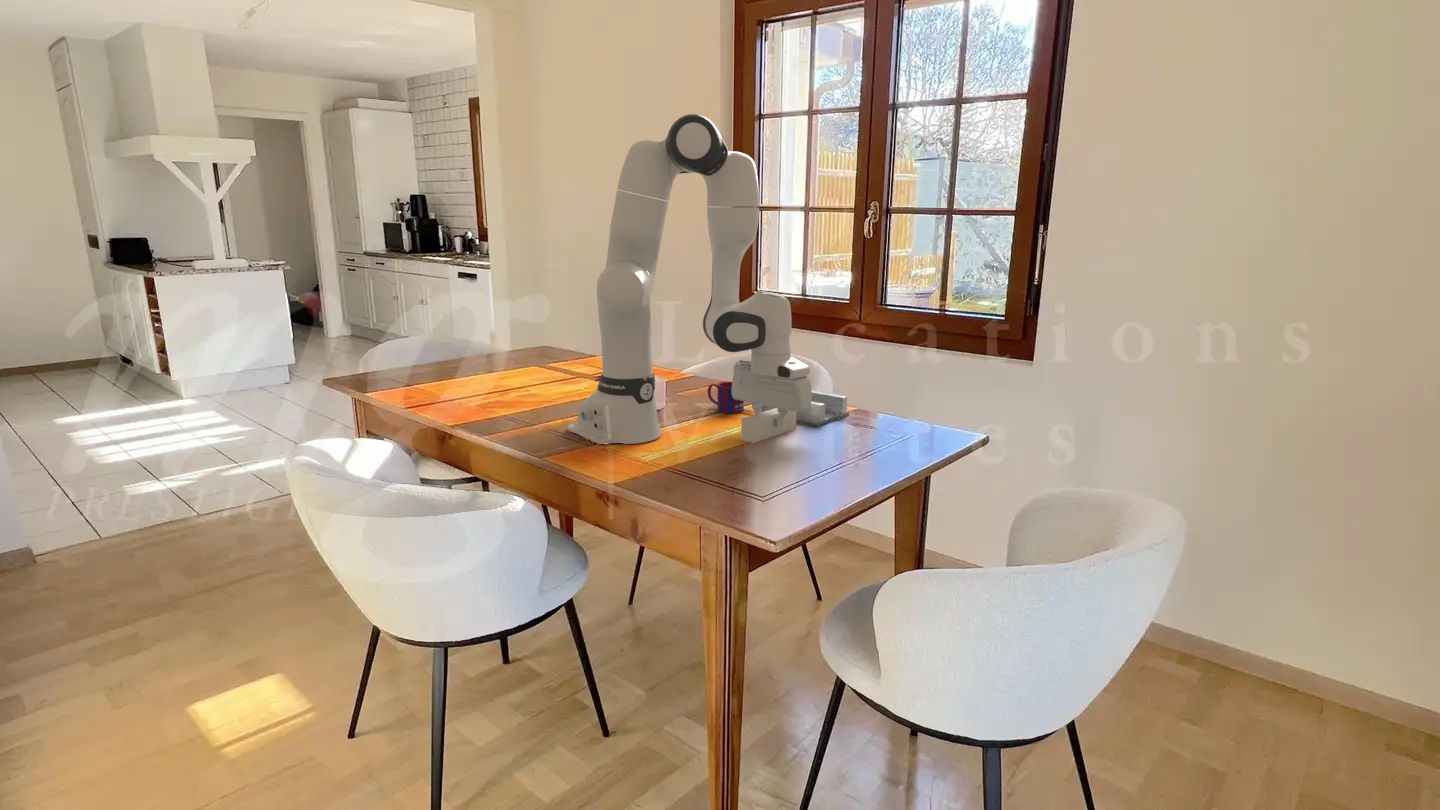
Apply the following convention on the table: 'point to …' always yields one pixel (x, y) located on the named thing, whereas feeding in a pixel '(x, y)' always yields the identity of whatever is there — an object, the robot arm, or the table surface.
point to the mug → (726, 399)
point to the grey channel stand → (820, 409)
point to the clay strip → (765, 425)
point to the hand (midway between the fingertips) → (769, 424)
